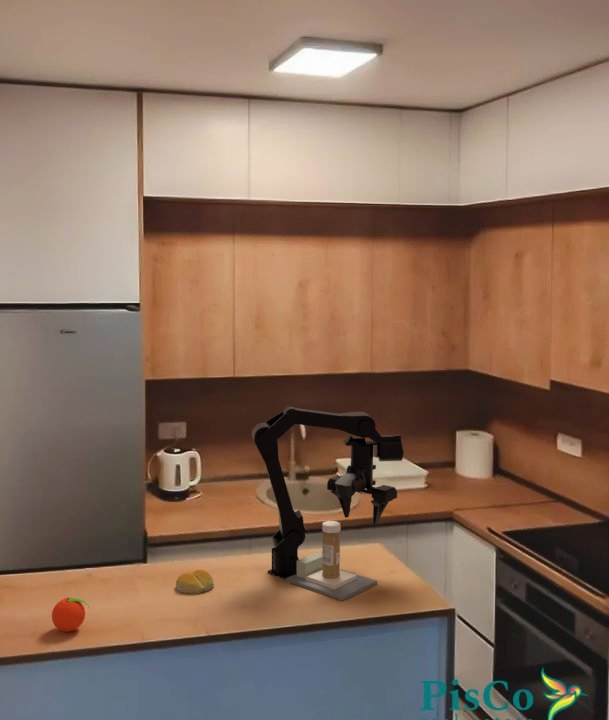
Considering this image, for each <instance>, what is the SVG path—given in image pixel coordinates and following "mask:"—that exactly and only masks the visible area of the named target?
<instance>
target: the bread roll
mask: <svg viewBox="0 0 609 720" xmlns="http://www.w3.org/2000/svg"><path fill="white" fill-rule="evenodd" d="M175 586H176V589H177V591H179V592H181V593H183V594H194V595H195V594H201V593H202V592H208V591H210V590H212V589H213V588H214V586H215V584H214V581H213V577H212V575H211V574H210V573H209V572H208V571H205V570H203V569H202V570H201V569H197V570H194V571H192V572H191V573H190V572H189V573H188V572H186V573H182V574H181V575H179V576H178V578H177V579H176V580H175Z"/></svg>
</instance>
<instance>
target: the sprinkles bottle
mask: <svg viewBox="0 0 609 720" xmlns="http://www.w3.org/2000/svg"><path fill="white" fill-rule="evenodd" d="M341 529H342V528H341V523H340V522H339V521H336V520H326V521H323V522H322V525H321V530H322V549H321V550H322V553H321V554H322V563H323V572H322V575H323V576H324V577H326V578H337V577H339V576H340V569H341V568H340V564H341V563H340V562H341V558H340V557H341V554H340V553H341V545H340V544H341V543H340V542H341V540H340V537H341V535H340V533H341Z"/></svg>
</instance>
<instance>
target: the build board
mask: <svg viewBox="0 0 609 720" xmlns="http://www.w3.org/2000/svg"><path fill="white" fill-rule="evenodd" d="M322 572H323V563H322V553H320V552H315V553H312V554H310V555H307V556H305V557H302V558H299V560H297V574H295V575H293V576H290V577H288V578H286V579H285V582H287V583H289V584H292V585H295V586H298V587H301V588H305V589H306V590H310V591H312V592H316V593H319V594H322V595H325V596H327V597H330V598H333V599H336V600H339V601H345V600H347V599H349V598H352V597H353V596H355V595H357V594H360V593H361V592H364V591H366V590H367V589H370V588H371V587H373V586H376V585H378V580H377V579H373V578H370V577H367V576H364V575H360V574H356V573H353V572H350V571H347V570H344V569H341V568H340V576H339V577H337V578H326V577H324V576H323V575H322Z"/></svg>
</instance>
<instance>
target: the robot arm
mask: <svg viewBox="0 0 609 720" xmlns="http://www.w3.org/2000/svg"><path fill="white" fill-rule="evenodd" d="M294 425H300V426H307V427H308V426H309V427H315V428H316V427H317V428H321V429H332V430H338V431H342V432H344V433H347V434H349V435H348V436H347V437H346V438H345V439H343V441H342V443H343V444H344V445H345V446H346V447H350V464H349V465H347V468H346V473H345V474H343V475H337V476H334V477H330V478H328V480H327V482H326V489H327V491H330V493H331V494H333V495H335V497H336V498H337V499H338V501H339V504H340V505H341V506H340V507H341V509H342V512H343V515H344V518H349V516H350V512H351V506H352V505H351V504H352V497H353V496H354V495H355V494H356V493H365V494H368V495H371V498H372V499H373V500H370V502H371V505H372V506H373V508H372V509H373V513H372V514H373V515H372V522H373V523H372V524H373V525H374V526H376V525H378V524H379V521H380V519H381V518H382V517H381V516H382V515H383V512H384V510H385V509H386V507H387V506H388V504H389V502H392V501H393V500H395V499H397V498H398V490H397V489H396V487H395V486H391V485H385V484H383V485H379V486H377V487H375V485H376V484H377V481H376V480H374V479H373V477H374V474H373V473H374V470H377V465H376V464H374V458H376V459H378V461H379V462H401V461H403V459H404V447H403V442H402V436H401V435H400V434H397V433H396V434H387V435H386V434H385V435H384V434H383V435H381V433H380V432H378V431H377V429H376V427H377V426H376V425H377V424H376V422H375V420H374V419H373V418H372V417H371V416H370V415H369V414H368V413H366V412H364V411H349V412H348V411H347V412H343V413H342V412H339V413H336V412H331V411H330V412H328V411H323V410H321V411H320V410H314V409H313V410H312V409H306V408H299V407H297V408H296V407H294V406H287V407H285V408H284V409H283V410H281V412H279V413H278V414H275V415H274V416H272V417H270V418H269V419H268V420H267V421H265V422H259V423H258V424H256V425H254V427H253V428H252V431H251V436H252V439H253V441H254V444H255V446H256V448H257V449H258V450H257V451H258V452H259V454H260V456H261V459H263V462H264V464H265V469H266V472H267V475H268V479H269V482H270V485H271V489H272V492H273V496H274V499H275V502H276V506H277V510H278V511H277V512H278V524H279V529H278V530H277V532H276V533H274V534H273V535H272V537H271V540H272V543H273V544H272V545H273V546H274V547H272V548H271V568H270V569H269V570H267V572H266V573H267V574H270V575H272V576H275V577H277V578H282V579H285V580H286V578H288V577H290V576H293V575H295V574H297V560H300V557H299V556H298V554H299V553H298V551H299V550H298V549H299V547H300V546H301V545H302V544H303V543H304V542H305V541H306V533H307V532H308V530H307V528H306V526H305V524H304V516H303V515H302V513H301V510H300V509H299V510H297V511H296V510H294V508H293V504H292V501H291V496H290V494H289V489H288V487H287V482H286V479H285V476H284V473H283V470H282V467H281V463H280V459H279V444H278V440H279V439H280V438H281V437H282V436H283V435H285V433H287V432H288V431H289V430H290V429H291V428H292V427H293V426H294ZM353 436H355V437H353ZM366 438H369V439H370V440H366Z"/></svg>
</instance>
